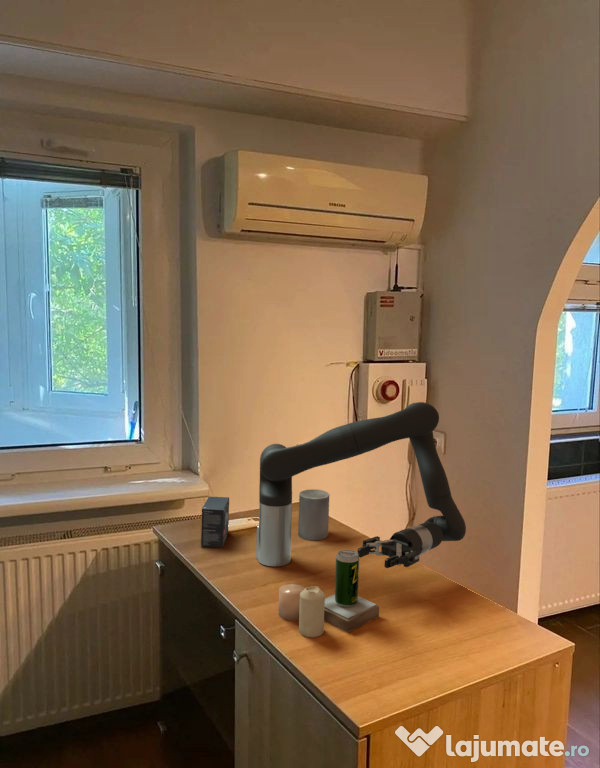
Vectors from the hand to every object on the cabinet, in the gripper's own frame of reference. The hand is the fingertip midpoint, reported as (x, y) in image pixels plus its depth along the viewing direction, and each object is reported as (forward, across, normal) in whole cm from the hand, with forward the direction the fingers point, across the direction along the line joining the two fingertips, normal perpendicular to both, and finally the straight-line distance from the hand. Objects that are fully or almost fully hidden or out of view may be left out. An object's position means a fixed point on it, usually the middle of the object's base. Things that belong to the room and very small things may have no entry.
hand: (371, 558), depth 149 cm
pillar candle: (-23, -42, +12) cm, 49 cm away
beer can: (+9, 0, +9) cm, 12 cm away
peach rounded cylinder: (+18, -9, +12) cm, 23 cm away
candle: (+20, 0, +12) cm, 23 cm away
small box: (+3, -59, +12) cm, 60 cm away
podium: (+9, 0, +12) cm, 15 cm away
